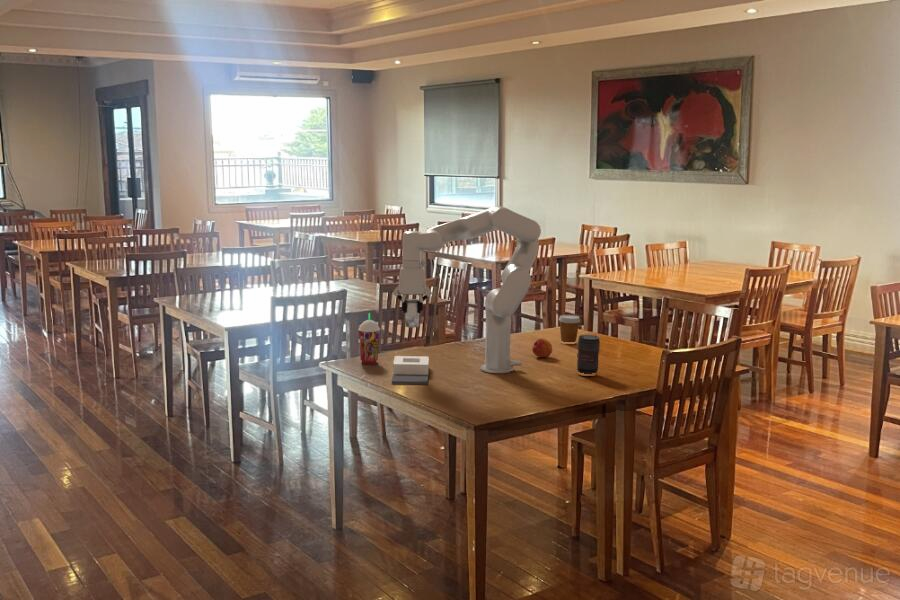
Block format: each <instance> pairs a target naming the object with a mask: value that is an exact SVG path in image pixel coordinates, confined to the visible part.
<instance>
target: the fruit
mask: <svg viewBox="0 0 900 600" xmlns="http://www.w3.org/2000/svg"><path fill="white" fill-rule="evenodd" d="M531 350H532V353H533V355H535V356H536V357H539V358H541V357H546V358H549V357H550V355H551V354H552V353H553V346H552V343H550V341H548V340H547V339H545V338H539V339H537V340H536V341H535V342H534V343H533V346H532V349H531Z"/></svg>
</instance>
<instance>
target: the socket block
mask: <svg viewBox="0 0 900 600" xmlns="http://www.w3.org/2000/svg"><path fill="white" fill-rule="evenodd" d="M429 361H430V360H429V356H425V355H424V356H422V355H421V356H416V355H414V356H412V355H409V356H408V355H407V356H406V355H395V356H394V359H393V364H392V365H393V368H392V369H393V370H392V371H393V373H392V375H393V374H408V375H428V376H429V366H430V364H429V363H430V362H429Z"/></svg>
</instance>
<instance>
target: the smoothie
mask: <svg viewBox="0 0 900 600" xmlns="http://www.w3.org/2000/svg"><path fill="white" fill-rule="evenodd" d="M367 315H368V316H367V317H368V319H367V320H364V321H363V322H362V323H361V324H360V326H359V328H358V338H359V355H360V361H361V363H362V364H363V365H368V364H371V365H375V364H377V361H378V360H379V348H380V347H379V346H380V334H381V333H380V332H381V331H380V330H381V328H380V327H379V324H378V323H377V322H376V321H375V320H372V319H371V312H368V314H367Z"/></svg>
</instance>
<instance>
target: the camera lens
mask: <svg viewBox="0 0 900 600" xmlns="http://www.w3.org/2000/svg"><path fill="white" fill-rule="evenodd" d="M600 343H601V342H600V336H597V335H594V334H580V335H579V336H578V340H577V355H576V357H577V362H576V363H577V364H576V367H577V368H576V369H577V370H576V371H577V372H580V373H584V374H592V373H596V374H597V373H598V371H599V370H598V369H599V354H600V347H601V346H600Z"/></svg>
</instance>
